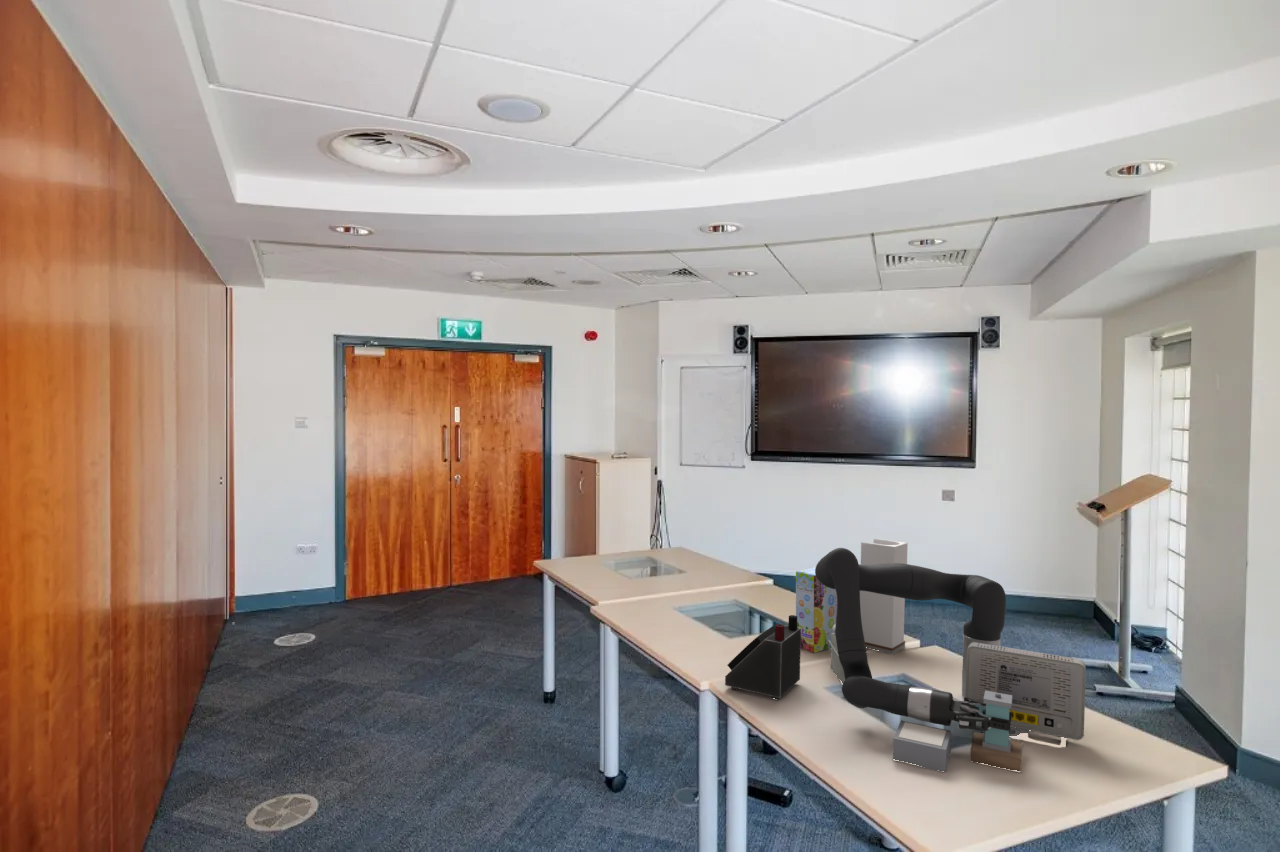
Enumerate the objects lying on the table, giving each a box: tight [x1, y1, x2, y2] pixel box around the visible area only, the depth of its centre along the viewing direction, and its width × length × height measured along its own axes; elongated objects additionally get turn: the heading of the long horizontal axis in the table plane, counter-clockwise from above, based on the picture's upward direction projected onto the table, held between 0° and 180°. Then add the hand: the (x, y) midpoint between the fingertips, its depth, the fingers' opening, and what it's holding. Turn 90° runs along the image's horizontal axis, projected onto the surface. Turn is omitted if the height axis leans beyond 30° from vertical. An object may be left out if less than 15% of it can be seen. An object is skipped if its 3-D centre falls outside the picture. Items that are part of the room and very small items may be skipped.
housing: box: [982, 691, 1012, 753], centre depth 165 cm, size 6×6×12 cm
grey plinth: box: [892, 720, 952, 773], centre depth 165 cm, size 11×11×5 cm
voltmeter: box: [724, 614, 802, 700], centre depth 206 cm, size 16×16×20 cm
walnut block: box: [970, 731, 1023, 771], centre depth 165 cm, size 10×10×3 cm
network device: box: [966, 642, 1087, 741], centre depth 178 cm, size 26×9×20 cm, turn 59°
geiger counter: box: [828, 624, 845, 683], centre depth 215 cm, size 14×6×25 cm
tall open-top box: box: [860, 538, 909, 655], centre depth 243 cm, size 11×11×35 cm
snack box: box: [795, 566, 837, 653], centre depth 245 cm, size 22×9×26 cm, turn 128°
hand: (1010, 721), depth 164 cm, fingers closed on housing, 4 cm apart
